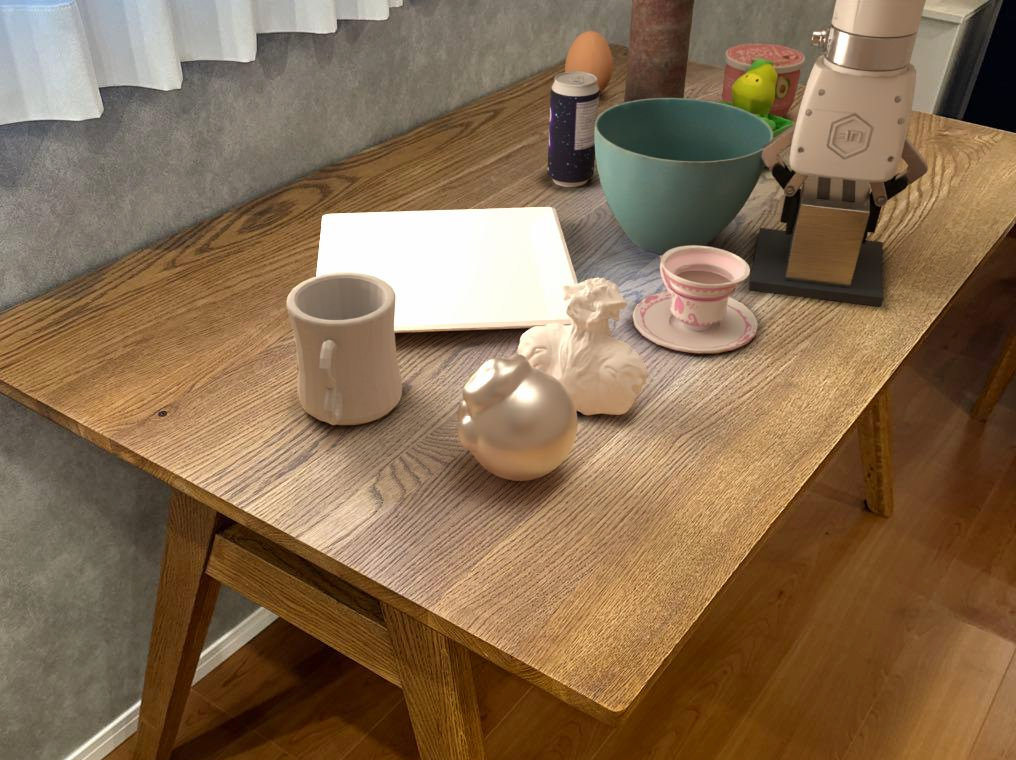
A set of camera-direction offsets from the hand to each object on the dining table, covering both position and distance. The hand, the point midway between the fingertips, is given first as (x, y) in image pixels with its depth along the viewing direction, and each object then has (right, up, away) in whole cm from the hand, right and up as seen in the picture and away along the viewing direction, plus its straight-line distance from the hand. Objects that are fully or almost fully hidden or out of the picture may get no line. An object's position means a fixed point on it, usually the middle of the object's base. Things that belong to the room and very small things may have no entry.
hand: (825, 232), depth 105 cm
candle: (-14, +17, +26) cm, 34 cm away
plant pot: (-15, +2, +8) cm, 17 cm away
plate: (-39, -5, +1) cm, 39 cm away
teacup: (-15, -11, -6) cm, 19 cm away
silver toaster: (0, -2, +2) cm, 3 cm away
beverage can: (-24, +12, +21) cm, 34 cm away
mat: (0, -3, +3) cm, 4 cm away
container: (+3, +27, +37) cm, 46 cm away
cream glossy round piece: (-33, -26, -23) cm, 48 cm away
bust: (-27, -19, -15) cm, 36 cm away
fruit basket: (-3, +17, +26) cm, 31 cm away
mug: (-47, -21, -16) cm, 54 cm away
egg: (-20, +32, +43) cm, 57 cm away
